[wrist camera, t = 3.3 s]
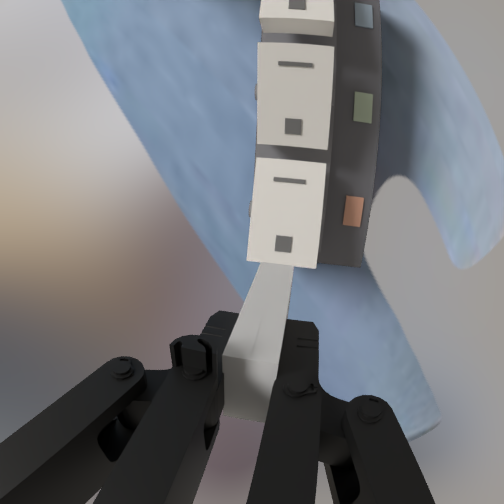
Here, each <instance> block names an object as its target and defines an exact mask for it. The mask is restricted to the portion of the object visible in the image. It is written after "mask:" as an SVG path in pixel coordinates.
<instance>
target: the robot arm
mask: <svg viewBox="0 0 504 504" xmlns="http://www.w3.org/2000/svg"><path fill="white" fill-rule="evenodd" d="M293 270H294V266H292V265H284V264H275V263H267V262H261V263H260V266H259V268H258V271H257V273H256V275H255V278H254V280H253V283H252V285H251V287H250V290H249V292H248V295H247V297H246V300H245V302H244V304H243V307H242V309H241V312H240V314H239V313H232V312H226V311H218V312H217V313H215V314H214V315H212V316H211V317H210V318H209V320H208V322H207V323H206V326H205V327H204V329H203V331H202V334H200V335H187V336H182V337H179V338H177V339H175V340H174V341H173V342H172V343H171V344H170V352H171V359H172V366H173V367H172V368H171V369H168V370H144V367H143V365H142V363H141V362H140V361H139V360H137V359H135V358H132V357H124V356H123V357H122V356H121V357H117V358H113V359H112V360H110V361H108V362H106V363H105V364H104V365H102V366H101V367H100V368H99V369H97V370H96V371H95V372H93V373H92V374H91V375H89V376H88V377H87V378H86V379H84V380H83V381H82V382H80V383H79V384H78V385H76V386H75V387H74V388H72V389H71V390H70V391H68V392H67V393H66V394H64V395H63V396H62V397H61V398H59V399H58V400H57V401H55V402H54V403H53V404H51V405H50V406H49V407H47V408H46V409H45V410H43V411H42V412H41V413H40V414H38V415H37V416H36V417H34V418H33V419H32V420H30V421H29V422H28V423H27V424H25V425H24V426H22V427H21V428H20V429H19V430H17V431H16V432H15V433H13V434H12V435H11V436H9V437H8V438H7V439H5V440H4V441H3V442H2V443H0V504H85V503H86V502H87V501H88V500H89V499H90V498H91V497H92V496H93V495H94V494H95V493H96V492H98V490H100V489H101V490H100V492H99V494H98V496H97V497H96V499H95V501H94V502H93V504H193V501H194V498H195V495H196V493H197V490H198V487H199V484H200V482H201V479H202V476H203V473H204V470H205V468H206V465H207V462H208V459H209V456H210V453H211V450H212V448H213V445H214V442H215V439H216V436H217V434H218V430H219V424H220V421H219V418H220V415H221V412H222V409H223V415H224V416H229V417H235V418H240V419H245V420H251V421H257V422H264V423H265V426H264V430H263V435H262V440H261V444H260V449H259V453H258V457H257V462H256V466H255V470H254V474H253V479H252V483H251V487H250V491H249V495H248V499H247V503H246V504H315V496H316V485H317V473H318V461H320V462H323V463H324V466H325V470H326V475H327V479H328V483H329V487H330V491H331V495H332V499H333V504H435V502H434V500H433V497H432V495H431V493H430V490H429V488H428V485H427V483H426V481H425V479H424V476H423V474H422V472H421V470H420V467H419V465H418V463H417V461H416V459H415V456H414V454H413V452H412V450H411V448H410V446H409V443H408V441H407V439H406V437H405V435H404V433H403V431H402V429H401V427H400V425H399V422H398V420H397V418H396V416H395V414H394V412H393V410H392V408H391V407H390V406H389V404H388V403H387V402H386V401H384V400H383V399H381V398H379V397H376V396H372V395H362V396H358V397H355V398H354V399H352V400H351V401H350V402H347V401H344V400H340V399H337V398H335V397H333V396H331V395H329V394H328V393H326V392H325V391H324V390H323V388H322V387H321V385H320V383H319V379H318V368H319V350H318V349H319V342H318V341H319V331H318V329H317V327H316V326H315V324H314V323H313V322H307V321H298V320H290V319H287V318H288V311H289V303H290V295H291V287H292V278H293Z"/></svg>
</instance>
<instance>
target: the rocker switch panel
mask: <svg viewBox="0 0 504 504" xmlns="http://www.w3.org/2000/svg"><path fill="white" fill-rule="evenodd" d="M261 42H274V43H298V44H312V45H323V46H332V47H334V65H333V84H332V89H335V103H334V106H331V114H330V127H329V138H328V149H327V150H323V149H314V148H304V147H294V146H281V145H267V144H257V132H256V151H255V167H256V157H259V158H273V159H286V160H297V161H307V162H317V163H326V174H325V187H324V199H323V208H325V220H324V225H321V230H320V239H319V248H318V256H317V263H324V264H333V265H342V266H350V267H359V268H360V267H361V262H362V257H363V252H364V246H365V241H366V235H367V229H368V222H369V217H370V210H371V203H372V196H373V188H374V180H375V172H376V162H377V152H378V141H379V128H380V111H381V85H382V42H381V17H380V2H379V0H336V2H335V3H334V28H333V36H332V37H329V36H320V35H308V34H292V33H263V31H262V37H261ZM254 177H255V170H254Z"/></svg>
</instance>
